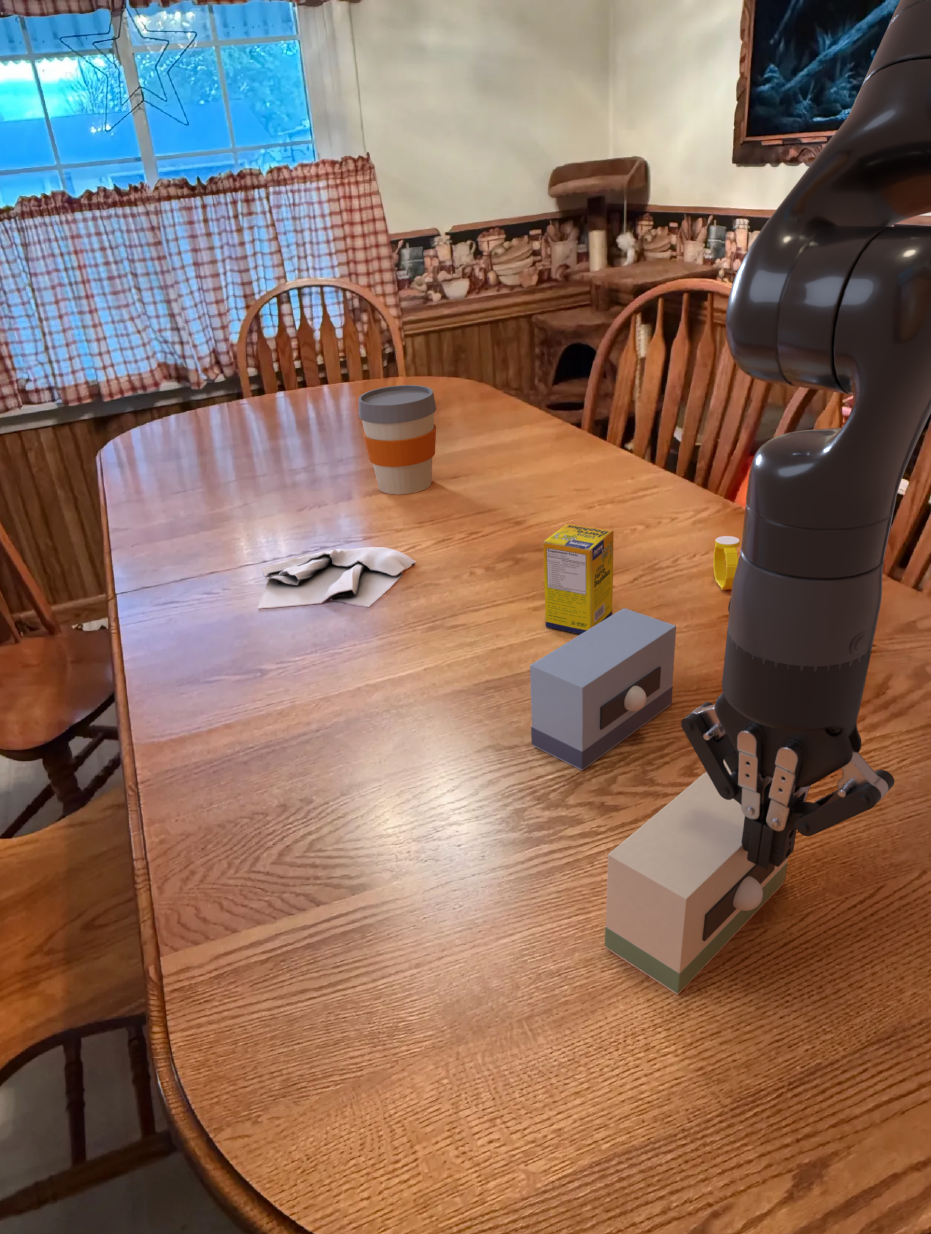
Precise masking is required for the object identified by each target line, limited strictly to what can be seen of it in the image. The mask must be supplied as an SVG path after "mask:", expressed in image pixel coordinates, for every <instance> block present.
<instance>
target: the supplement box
mask: <svg viewBox="0 0 931 1234" xmlns="http://www.w3.org/2000/svg"><path fill="white" fill-rule="evenodd" d="M542 545H543V546H542V547H543V583H544V584H543V587H544V589H543V590H544V612H545V613H544V617H545V627H546V628H550V629H554V630H559V631H563V632H568V633H573V634H578V635H580V634H582V633H584V632H585V631H587V630H589V629H590V628H592V627H594V626H595V625H597V624H599V623H600V622H602V621H603V620H605V619H607V618H608V617H610V616H612V615H613V597H614V596H613V594H614V589H613V588H614V530H613V529H606V528H600V527H593V526H586V525H579V524H574V523H568V522H567V523H566V524H564V525H563V526H562V527H561V528H559V529H558V530H557V531H555V532H554V533H552V534H551V535H550V536H548V537H547V538H546V539H545V540H544V541H543V543H542Z"/></svg>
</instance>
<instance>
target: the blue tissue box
mask: <svg viewBox="0 0 931 1234" xmlns="http://www.w3.org/2000/svg"><path fill="white" fill-rule="evenodd" d="M676 637H677V625H676V624H673V623H670V622H667V621H664V620H661V619H659V618H655V617H652V616H649V615H646V614H644V613H640V612H637V611H634V610H632V609H629V608H626V607H624V608H621V609H619V610H618V611H616V612H615V613H612V616H610V617H608V618H607V619H605V620H603V621H602V622H600V623H599V624H597V625H595V626H594V627H592V628H590V629H589V630H587V631H585V632H584V633H582V634H578V635H576V637H573V639H571V640H568V641H567V642H566V643H564V644H563V645H561V646H559V647H557V648H556V649H554V650H553V651H551V652H549V653H547V654H546V655H544V656H543V657H541V658H539V659H537V660H536V661H534V662H533V663H531V664H530V665H529V673H530V674H529V675H530V678H529V679H530V707H531V708H530V711H531V726H530V731H531V732H530V734H531V735H530V737H531V745H532V747H534V748H537V749H538V750H540V751H542V752H544V753H546V754H547V755H550V756H552V757H554V758H555V759H556V758H557V759H558V760H560V761H562V762H564V763H565V764H567V765H570V766H572V767H574V768H576V769H578V770H580V771H584V770H585V769H587V768H588V767H589V766H591V765H592V764H593V763H595V762H596V761H597V760H599V759H600V758H602V757H603V756H604V755H606V754H607V753H608V752H610V751H611V750H613V749H614V748H615V747H616V746H617V745H619V744H620V743H621V742H623V741H625V740H626V739H627V738H628V737H630V736H631V735H633V734H634V733H635V732H637V731H638V730H639V729H641V728H642V727H644V726H645V725H646V724H647V723H649V722H650V721H652V720H653V719H654V718H656V717H657V716H658V715H660V714H661V713H662V712H663V711H665V710H666V709H667V708H669V707H670V706H672V703H673V694H674V693H673V692H674V687H673V680H674V667H675V666H674V665H675V653H676V652H675V651H676V640H677V639H676Z"/></svg>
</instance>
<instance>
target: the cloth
mask: <svg viewBox="0 0 931 1234" xmlns="http://www.w3.org/2000/svg"><path fill="white" fill-rule="evenodd" d="M416 564H417V561H416V560H415V559H413V558H412V557H410V556H409V555H407V554H405V553H403V552H402V551H399V550H397V549H394V548H390V547H384V546H375V547H374V546H370V547H367V546H366V547H365V546H363V547H362V546H361V547H358V548H349V549H348V548H336V549H326V550H321V551H318V552H317V553H310V554H304V555H302V556H299V557H294V558H287V559H285V560H282V561H279V562H277V563H273V564H270V565H267V566H265V567H261V571H262V574H263V575H264V578H266V577H267V576H270V578H269V579H267V581H266V584H265V587H264V590H263V592H262V595H261V597H260V600H259V603H258V606H257V610H263V609H276V608H287V607H299V606H312V605H319V604H323V603H324V602H325V601H327V600H329V601H331V602H336V603H337V602H338V603H344V604H347V605H351V606H357V607H364V608H370V607H372V606H373V605H374V604H375V603H376V602H377V601H378V600H379V599H380V598H382V597H383V596H384V595H385V594H386V593H387V592H388V591H389V590H390V589H392V587H393V586H394V585H396V584H397V582H399V580H400V579H402V577H403V574H404V573H403V571H406V570H408V569H409V568H411V567H413V566H415V565H416ZM329 598H330V599H329Z"/></svg>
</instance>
